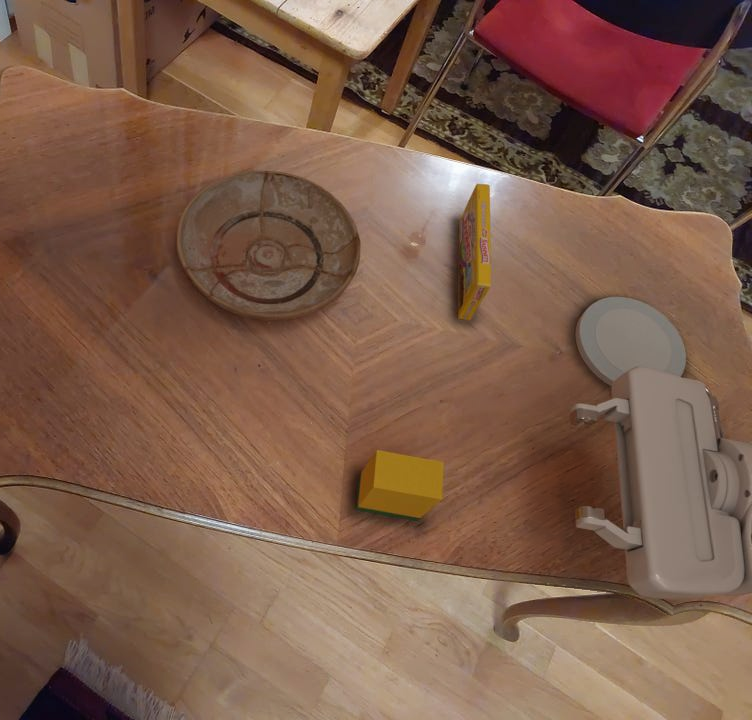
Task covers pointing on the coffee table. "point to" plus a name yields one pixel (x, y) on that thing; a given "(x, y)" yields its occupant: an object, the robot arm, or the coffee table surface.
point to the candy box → (474, 252)
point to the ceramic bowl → (268, 245)
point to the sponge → (400, 485)
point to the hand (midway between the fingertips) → (575, 462)
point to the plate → (628, 339)
